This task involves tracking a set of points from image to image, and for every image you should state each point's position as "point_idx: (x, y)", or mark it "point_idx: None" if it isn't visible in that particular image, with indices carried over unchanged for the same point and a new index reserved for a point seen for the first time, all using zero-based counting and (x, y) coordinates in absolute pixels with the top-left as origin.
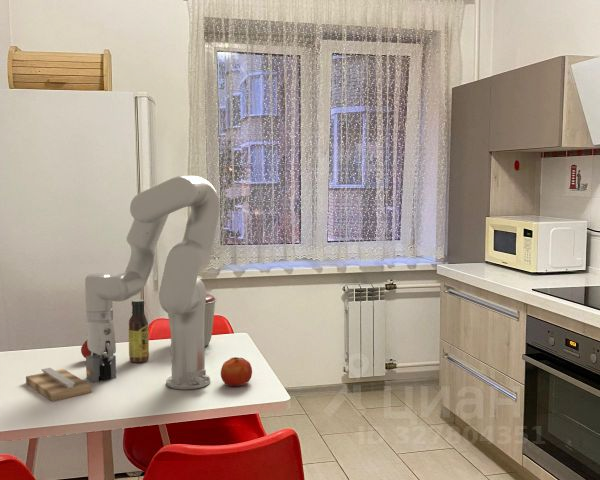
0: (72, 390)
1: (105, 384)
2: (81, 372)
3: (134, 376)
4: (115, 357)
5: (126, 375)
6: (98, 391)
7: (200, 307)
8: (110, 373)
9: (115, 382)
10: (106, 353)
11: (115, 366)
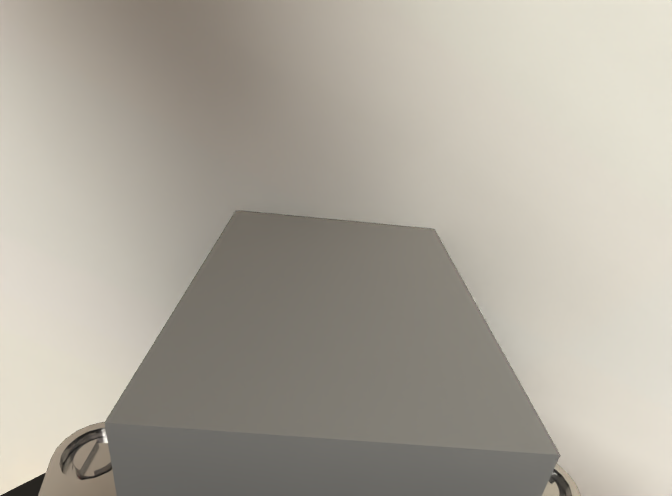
0: None
1: None
2: (6, 367)
3: (591, 35)
4: (540, 424)
5: (462, 91)
6: (608, 491)
7: None
8: None
9: (557, 312)
10: (194, 489)
11: (470, 306)
